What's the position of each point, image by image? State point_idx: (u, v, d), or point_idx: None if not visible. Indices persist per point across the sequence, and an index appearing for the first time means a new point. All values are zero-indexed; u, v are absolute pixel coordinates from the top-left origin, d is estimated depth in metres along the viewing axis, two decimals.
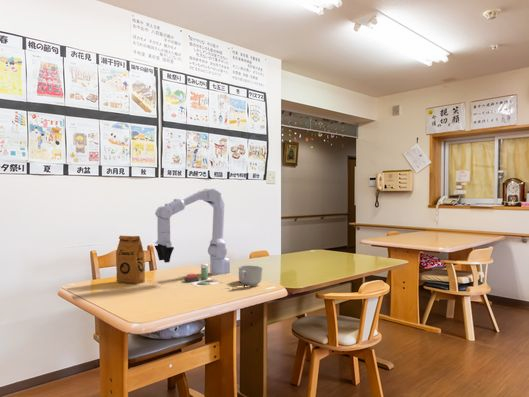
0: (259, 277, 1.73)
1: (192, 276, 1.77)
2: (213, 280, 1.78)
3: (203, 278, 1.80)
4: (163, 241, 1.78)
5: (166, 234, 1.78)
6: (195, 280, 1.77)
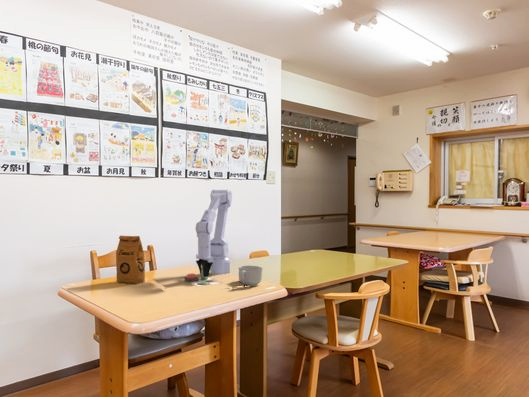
0: (259, 277, 1.73)
1: (192, 276, 1.77)
2: (213, 280, 1.78)
3: (203, 278, 1.80)
4: (204, 256, 1.79)
5: (207, 249, 1.80)
6: (195, 280, 1.77)
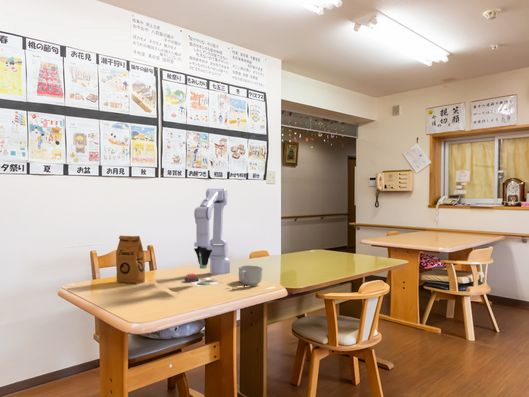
0: (259, 277, 1.73)
1: (192, 276, 1.77)
2: (213, 280, 1.78)
3: (201, 266, 1.71)
4: (203, 243, 1.69)
5: (206, 236, 1.70)
6: (195, 280, 1.77)
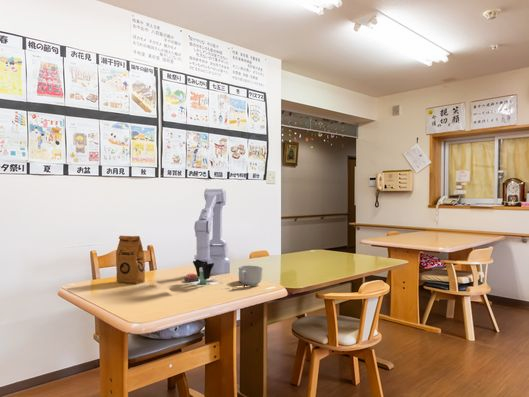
0: (259, 277, 1.73)
1: (192, 276, 1.77)
2: (213, 280, 1.78)
3: (201, 282, 1.71)
4: (203, 257, 1.69)
5: (206, 249, 1.70)
6: (195, 280, 1.77)
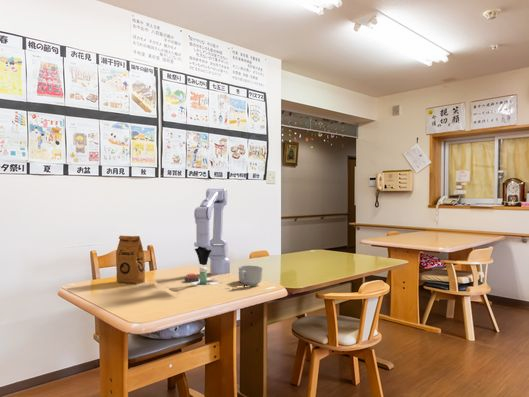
0: (259, 277, 1.73)
1: (192, 276, 1.77)
2: (213, 280, 1.78)
3: (201, 282, 1.71)
4: (203, 243, 1.69)
5: (206, 236, 1.70)
6: (195, 280, 1.77)
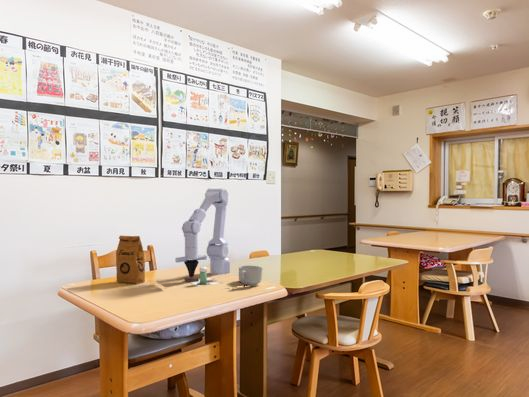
0: (259, 277, 1.73)
1: None
2: (213, 280, 1.78)
3: (201, 282, 1.71)
4: None
5: (185, 249, 1.76)
6: (195, 280, 1.77)
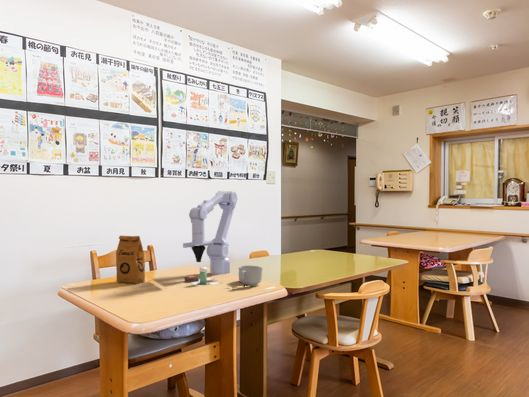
0: (259, 277, 1.73)
1: None
2: (213, 280, 1.78)
3: (201, 282, 1.71)
4: (192, 241, 1.82)
5: (192, 235, 1.81)
6: (195, 280, 1.77)
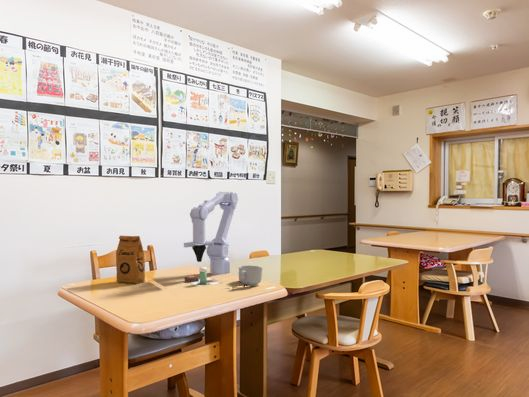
0: (259, 277, 1.73)
1: None
2: (213, 280, 1.78)
3: (201, 282, 1.71)
4: None
5: (193, 235, 1.81)
6: (195, 280, 1.77)
